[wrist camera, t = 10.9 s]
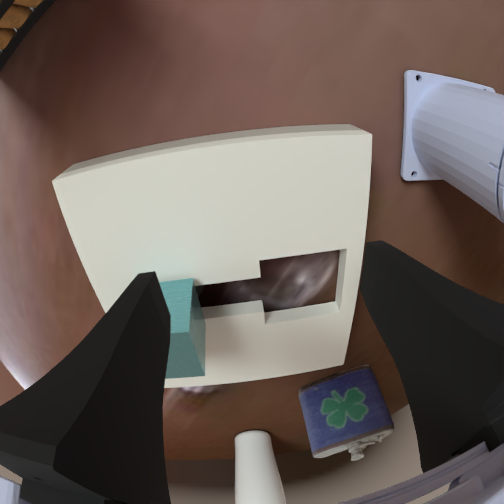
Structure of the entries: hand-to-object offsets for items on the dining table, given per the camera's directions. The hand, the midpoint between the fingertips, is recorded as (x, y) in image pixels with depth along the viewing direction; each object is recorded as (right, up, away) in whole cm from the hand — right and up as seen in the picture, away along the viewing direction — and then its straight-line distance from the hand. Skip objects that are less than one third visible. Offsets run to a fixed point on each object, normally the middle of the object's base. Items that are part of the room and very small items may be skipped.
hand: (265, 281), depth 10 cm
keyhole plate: (-2, 0, +12) cm, 13 cm away
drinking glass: (0, -26, +30) cm, 40 cm away
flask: (+9, -14, +23) cm, 28 cm away
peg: (-6, -1, +12) cm, 14 cm away
